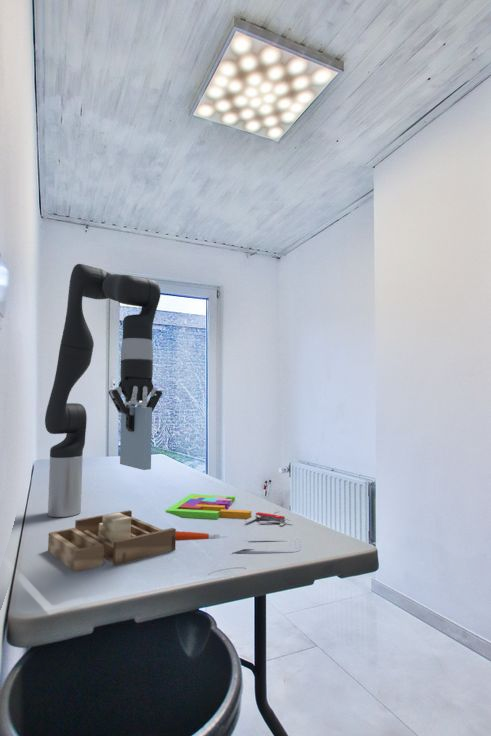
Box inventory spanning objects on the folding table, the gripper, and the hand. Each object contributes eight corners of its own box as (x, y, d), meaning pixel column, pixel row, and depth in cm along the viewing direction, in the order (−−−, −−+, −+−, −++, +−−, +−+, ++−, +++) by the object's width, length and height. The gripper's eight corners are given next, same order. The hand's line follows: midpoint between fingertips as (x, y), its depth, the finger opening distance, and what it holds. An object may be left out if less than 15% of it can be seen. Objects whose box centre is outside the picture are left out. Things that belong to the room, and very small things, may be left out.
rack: (74, 544, 102) (75, 520, 102) (129, 532, 111) (129, 510, 112) (115, 571, 86) (116, 542, 86) (175, 554, 95) (175, 528, 95)
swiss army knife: (302, 519, 124) (301, 512, 124) (279, 531, 112) (279, 524, 112) (267, 514, 130) (267, 507, 130) (243, 525, 118) (243, 517, 119)
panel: (119, 464, 105) (121, 406, 106) (126, 463, 107) (128, 406, 108) (143, 470, 96) (145, 407, 98) (150, 469, 98) (152, 407, 99)
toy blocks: (165, 518, 127) (248, 522, 122) (165, 510, 127) (248, 514, 122) (190, 500, 149) (261, 504, 144) (190, 494, 149) (261, 497, 144)
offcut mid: (98, 533, 99) (98, 523, 100) (114, 529, 102) (115, 520, 102) (113, 541, 93) (113, 531, 94) (130, 537, 96) (130, 527, 96)
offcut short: (102, 525, 98) (102, 515, 98) (118, 522, 101) (119, 512, 101) (113, 531, 94) (114, 520, 94) (130, 527, 96) (131, 517, 96)
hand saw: (299, 532, 107) (308, 546, 97) (298, 545, 107) (307, 560, 97) (167, 529, 104) (162, 543, 94) (166, 542, 104) (161, 558, 94)
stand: (44, 556, 94) (45, 533, 94) (76, 549, 98) (77, 527, 99) (71, 579, 82) (72, 552, 82) (106, 569, 86) (107, 544, 87)
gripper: (154, 361, 111) (153, 429, 110) (103, 357, 102) (100, 431, 100) (169, 359, 105) (168, 430, 104) (117, 355, 96) (115, 433, 95)
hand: (135, 430), depth 102 cm, fingers closed on panel, 2 cm apart
